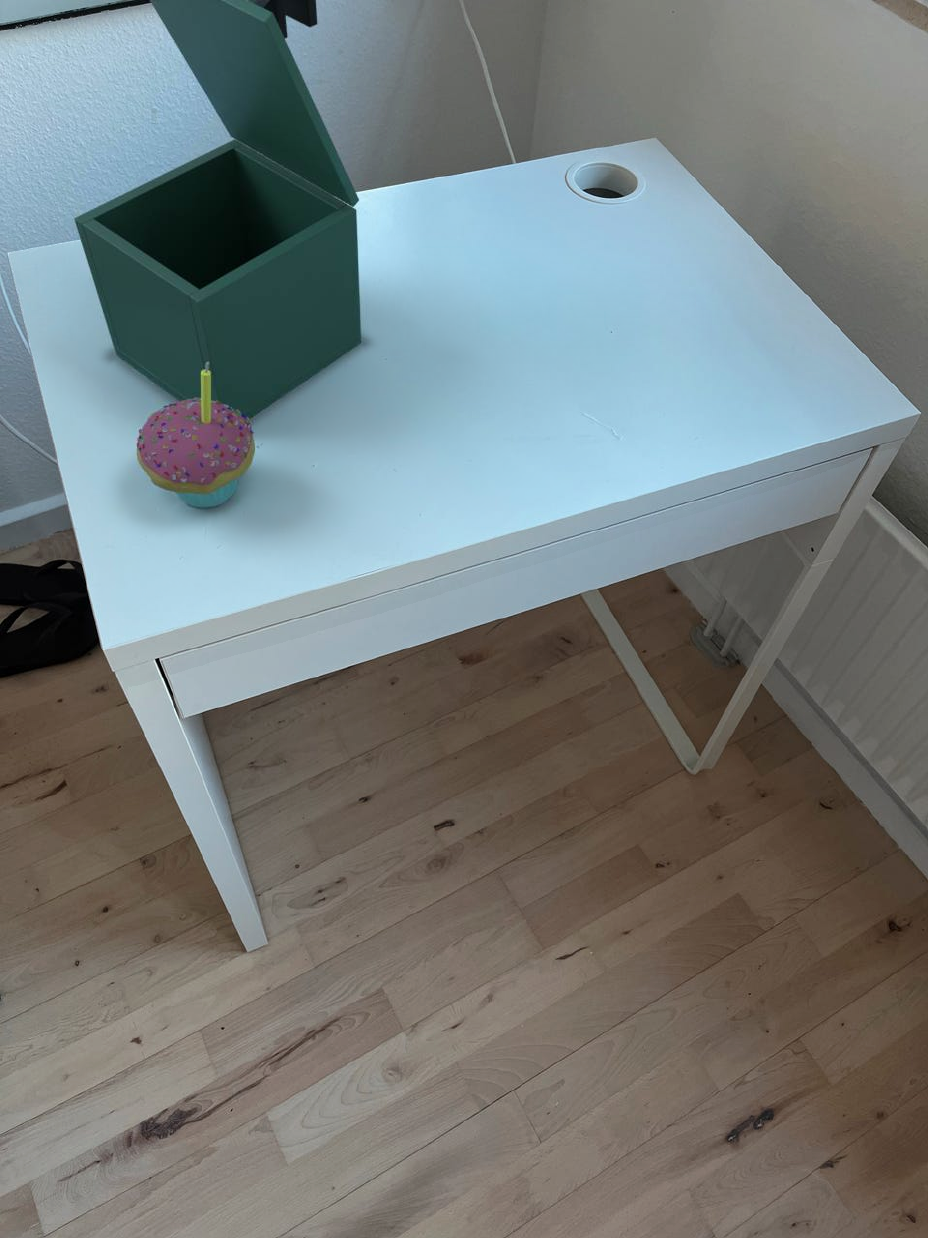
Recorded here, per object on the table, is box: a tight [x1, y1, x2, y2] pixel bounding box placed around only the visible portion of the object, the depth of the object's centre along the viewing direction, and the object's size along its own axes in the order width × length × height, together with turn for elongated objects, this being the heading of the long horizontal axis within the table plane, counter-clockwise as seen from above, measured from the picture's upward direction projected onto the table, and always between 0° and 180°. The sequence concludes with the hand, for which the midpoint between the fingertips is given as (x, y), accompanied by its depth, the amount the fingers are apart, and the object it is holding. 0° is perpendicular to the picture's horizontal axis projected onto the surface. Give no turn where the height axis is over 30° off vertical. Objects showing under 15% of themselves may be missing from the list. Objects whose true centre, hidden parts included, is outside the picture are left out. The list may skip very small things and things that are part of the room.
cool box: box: [73, 138, 362, 420], centre depth 77 cm, size 16×14×13 cm
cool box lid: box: [149, 0, 360, 208], centre depth 68 cm, size 17×14×8 cm
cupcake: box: [136, 362, 256, 509], centre depth 69 cm, size 9×8×12 cm
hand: (285, 24), depth 67 cm, fingers closed on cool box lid, 2 cm apart
